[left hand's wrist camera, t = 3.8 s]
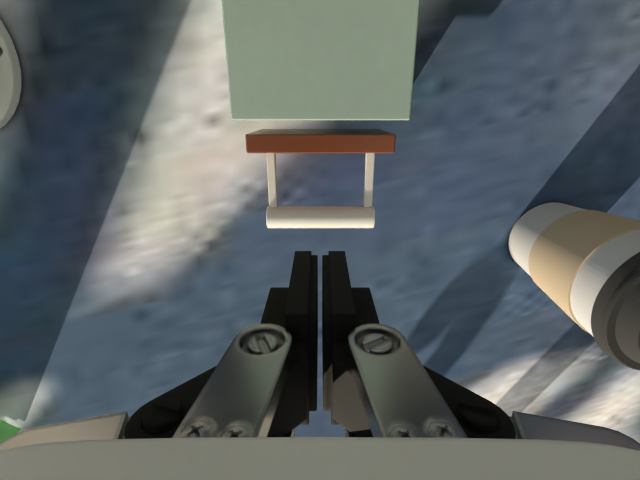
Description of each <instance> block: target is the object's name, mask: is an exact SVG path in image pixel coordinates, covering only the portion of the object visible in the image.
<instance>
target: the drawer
mask: <svg viewBox="0 0 640 480" xmlns="http://www.w3.org/2000/svg"><path fill="white" fill-rule="evenodd" d="M395 141H396V135H395V134H392V133H389V132H386V131H383V130H380V129H261V130H258V131H255V132H252V133H249V134H246V150H247V153H267V173H268V192H269V206H268V207H267V211H266V223H267V227H268V228H373V227H374V224H375V209H374V207H373V206H372V196H373V177H374V158H375V153H394V152H395ZM275 153H366V159H365V182H364V206H278V202H277V178H276V155H275Z"/></svg>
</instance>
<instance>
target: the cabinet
mask: <svg viewBox="0 0 640 480" xmlns="http://www.w3.org/2000/svg"><path fill="white" fill-rule="evenodd" d="M419 5H420V0H222V10H223V23H224V35H225V47H226V59H227V71H228V83H229V96H230V108H231V119H232V120H410V113H411V101H412V89H413V77H414V65H415V53H416V41H417V29H418V17H419Z"/></svg>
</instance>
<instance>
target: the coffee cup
mask: <svg viewBox="0 0 640 480" xmlns="http://www.w3.org/2000/svg"><path fill="white" fill-rule="evenodd" d="M509 251H510V254H511V256H512V258H513V259H514V260H515V261H516V262H517V263H518V264H519V265H520V266H521V267H522V268H523V269H524V270H525V271H526V272H527V273H528V274H529V275H530V276H531V277H532V279H533V280H534V282H535V283H536V284H537V285H538V286H539V287H540V288H541V289H542V290H543V291H544V292H545V293H546V294H547V295H548V296H549V297H550V298H551V299H552V300H553V301H554V302H555V303H556V304H557V305H558V306H559V307H560V308H561V309H562V310H563V311H564V312H565V313H566V314H567V315H568V316H569V317H570V318H572V319H573V320H574V321H575V322H576V323H577V324H578V325H579V326H580V327H581V328H582V329H583V330H585V331H586V332H588V333H590V334H591V335H592V336H593V337H594V339H595V341H596V343H597V344H598V346H599V347H600V348H601V349H602V350H603V351H604V352H605V353H606V354H607V355H609V356H610V357H612V358H614V359H616V360H617V361H618V362H620V363H621V364H623V365H625V366H627V367H629V368H632V369H636V370H640V221H637V220H633V219H629V218H625V217H621V216H617V215H613V214H609V213H605V212H601V211H596V210H586V209H582V208H578V207H574V206H571V205H567V204H563V203H556V202H553V203H545V204H542V205H539V206H536V207H534V208H532V209H531V210H529V211H528V212H526V213H525V214H524V215H523V216H522V217H521V218H520V219H519V220H518V221H517V222H516V224H515V225H514V227H513V229H512V231H511V234H510V237H509Z"/></svg>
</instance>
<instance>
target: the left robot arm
mask: <svg viewBox="0 0 640 480" xmlns="http://www.w3.org/2000/svg"><path fill="white" fill-rule="evenodd" d="M20 93H21V69H20V64H19V60H18V55H17V52H16V50H15V47H14V44H13V42H12V39H11V37H10V35H9V33H8V32H7V30H6V28H5V26H4V24H3V23H2V21H1V20H0V129H1V128H2V127H3V126H5V125H6V124H7V123H8V121H9V120H10V119H11V117H12V116H13V114H14V113H15V110H16V108H17V105H18V103H19V99H20ZM317 346H318V264H317V255H311V251H295V256H294V262H293V268H292V273H291V279H290V285H289V288H271V289H270V292H269V295H268V299H267V302H266V306H265V310H264V313H263V317H262V320H261V324H258V325H253V326H250V327H248V328H245V329H244V330H242V331H241V332H239V333H238V334H237V335H236V337H235V338H234V339H233V341H232V343H231V344H230V346H229V347H228V349H227V351H226V352H225V354H224V355H223V357H222V359H221V360H220V362H219V363H218V365H217V366H215V367H213V368H212V369H210V370H208V371H206V372H204V373H202V374H200V375H198V376H197V377H195V378H193V379H191V380H189V381H187V382H185V383H183V384H181V385H180V386H178V387H176V388H174V389H172V390H170V391H168V392H166V393H165V394H163V395H161V396H159V397H157V398H155V399H153V400H151V401H150V402H148V403H147V404H145V405H144V406H142V407H140V408H139V409H138V410H137V411H136V412H135V413H134V414H133V415H132V416H131V417H128V413H127V411H125V412H119V413H114V414H108V415H102V416H97V417H91V418H85V419H80V420H74V421H68V422H63V423H57V424H51V425H46V426H40V427H35V428H31V429H28V430H25V431H21V432H19V433H17V434H15V435H14V436H12V437H10V438H8V439H6V440H5V441H3V442H2V443H1V444H0V480H640V444H639V443H638V442H637V441H635V440H634V439H632V438H630V437H628V436H626V435H625V434H623V433H621V432H619V431H615V430H612V429H609V428H605V427H600V426H594V425H589V424H583V423H577V422H572V421H566V420H560V419H555V418H549V417H543V416H538V415H532V414H526V413H521V412H515V411H513V413H512V417H509V416H508V415H507V414H506V413H505V412H504V411H503V410H502V409H501V408H500V407H498V406H496V405H495V404H493V403H492V402H490V401H489V400H487V399H485V398H483V397H481V396H479V395H477V394H475V393H474V392H472V391H470V390H468V389H466V388H464V387H462V386H460V385H459V384H457V383H455V382H453V381H451V380H449V379H447V378H445V377H443V376H442V375H440V374H438V373H436V372H434V371H432V370H430V369H428V368H427V367H425V366H423V365H422V363H421V362H420V360H419V359H418V357H417V355H416V354H415V352H414V351H413V349H412V347H411V346H410V344H409V343H408V341H407V339H406V338H405V337H404V335H403V334H402V333H401V332H399V331H398V330H396V329H395V328H392V327H390V326H387V325H382V324H379V320H378V317H377V313H376V310H375V306H374V302H373V299H372V295H371V292H370V289H369V288H351V285H350V279H349V273H348V268H347V262H346V256H345V251H329V255H323V264H322V347H323V411H331V424H341V425H342V426H343V427H345V437H295V427H297V426H298V425H299V424H309V411H317Z"/></svg>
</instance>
